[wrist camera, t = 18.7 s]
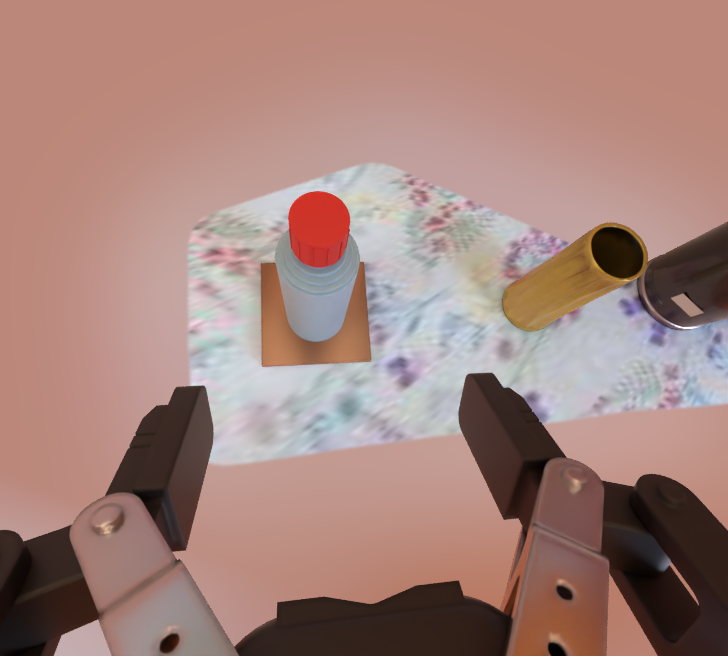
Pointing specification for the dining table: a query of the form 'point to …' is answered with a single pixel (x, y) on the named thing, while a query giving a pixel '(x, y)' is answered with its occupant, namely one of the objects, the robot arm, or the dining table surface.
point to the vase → (576, 276)
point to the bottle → (316, 290)
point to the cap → (318, 229)
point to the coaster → (294, 350)
